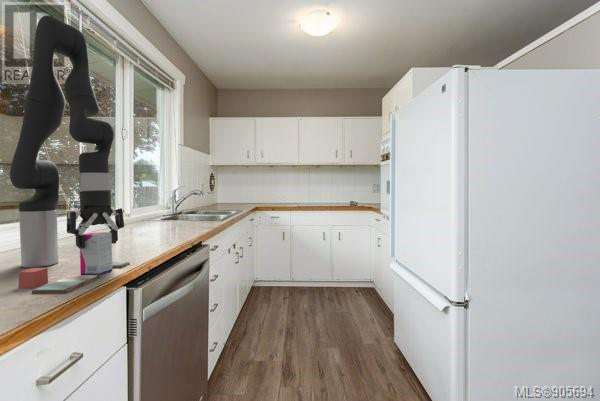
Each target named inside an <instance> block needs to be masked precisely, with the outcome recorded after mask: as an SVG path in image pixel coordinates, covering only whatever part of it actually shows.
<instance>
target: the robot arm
mask: <svg viewBox="0 0 600 401" xmlns="http://www.w3.org/2000/svg"><path fill="white" fill-rule="evenodd" d="M55 54H57V55H60V56H61V57H65V58H67V59H68V60H69V61H70V63H71V66H72V69H71V70H70V72H69V74H68V75H67V77H66V79H65V82H64V92H63V89H62V87H61V85H60V83H59V80H58V78H57V74H56V71H55V68H54V57H55V56H54V55H55ZM89 61H90V60H89V53H88V46H87V41H86V38H85V35H84V33H82V31H81V30H80V29H77V28H76V27H75V26H72V25H70V24H68V23H65V22H64V21H62V20H59V19H57V18H55V17H53V16H51V15H43V16H41V18H40V19H39V21H38V22H37V25H36V28H35V34H34V46H33V57H32V68H31V75H30V81H29V86H28V91H27V95H26V98H25V103H24V104H25V105H24V109H23V110H24V111H23V116H22V117H23V118H22V125H21V129H20V134H19V137H18V142H17V145H16V149H15V152H14V154H13V158H12V161H11V164H10V169H9V179H10V183H11V184H12V186H14V188H16V189H19V190H20V189H21V190H35V192H34V194H33V195H32V196H31V197H29V198H27V199H24V200H22V201H20V202H19V204H18V215H19V216H18V217H19V238H20V239H19V240H20V262H21V263H20V266H21V268H42V267H46V266H51V265H56V264H58V263H59V240H58V238H59V234H58V214H57V213H58V210H57V207H58V202H59V198H60V197H59V196H60V195H59V194H60V173H59V169H58V166H57V165H56V163H54V162H53V161H51V160H46V159H45V160H42V159H38V156H39V152H40V150H41V147H42V146H43V145H44V143H45V142H46V141H47V140H48V139H49V138H50V137H51V136H52V135H53V134H54V133H55V132H56V131H57V130H58V129H59V128H60V126H61V125H62V123H63V120H64V115H65V110H66V103H67V102H68V106H69V126H68V127H69V128H68V131H69V135H70V137H71V138H72V139H73V140H74V141H75V142H78V143H83V144H92V145H95V147H94V149H93V150H92V151H84V152H81V153H80V154H79V155H78V167H79V168H78V170H79V171H78V172H79V177H78V189H79V194H78V195H79V207H80V210H79V211H74V210H73V211H72V210H71V211H70V210H69V211H67V212H66V233H67V234H70V235H71V234H72V235H74V236H75V246H76V247H77V248H78V249H79V250H80V249H84V248H85V239H84V235H83V234H85V232H86V231H87V230H88V229H89V228H90V226H97V225H105V226H106V227H107V228H108V229H109V232H111V236H112V245H114V244H117V242H118V240H119V234H118V230H120V229H122V228H123V229H124V227H125V220H124V212H123V211H124V210H123V208H122V207H118V208H117V207H115V208H113V209H112V192H111V188H112V187H111V179H110V174H109V173H110V171H109V157H110V153H111V148H112V145H113V141H114V136H115V132H114V128H113V126H112V124H111V123H110V122H108V121H107V120H103V119H96V118H93V117H95V116H96V115H97V114H98V113H99V111H100V107H99V104H98V100H97V96H96V92H95V91H94V88H93V83H92V79H91V70H90V62H89ZM64 93H65V94H64ZM65 96H66V98H65ZM66 99H67V102H66ZM91 117H92V118H91ZM112 215H113V216H114V220H113V219H112V218H111V216H112ZM79 217H80V218H81V219H82V220H81V221H80V222H79V223H78V225H77V220H78V219H79Z"/></svg>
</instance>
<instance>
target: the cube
mask: <svg viewBox="0 0 600 401" xmlns="http://www.w3.org/2000/svg"><path fill="white" fill-rule="evenodd" d="M48 272H49V271H48V267H29V268H26V269H23V270H21V271H18V272H17V273H18V274H17V275H18V289H23V288H24V289H29V288H30V289H33V288H34V289H37V288H39V287H42V286H45V285H47V284H49V277H48V275H49V274H48Z"/></svg>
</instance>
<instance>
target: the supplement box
mask: <svg viewBox="0 0 600 401" xmlns="http://www.w3.org/2000/svg"><path fill="white" fill-rule="evenodd" d="M83 235H84V239H85V248H84V249H79V259H80V260H79V263H80V264H79V265H80V266H79V267H80V275H97V276H102V275H104V274H106V273H109V272H112V271H113V268H112V262H113V246H112V245H113V244H112V236H111V232H110V231H108V232H102V231H101V232H95V231H94V232H90V233H89V232H88V233H83Z"/></svg>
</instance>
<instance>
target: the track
mask: <svg viewBox="0 0 600 401" xmlns="http://www.w3.org/2000/svg"><path fill="white" fill-rule="evenodd" d="M128 265H131V262H130V261H112V269H123V268H124V267H126V266H128ZM100 277H101V275H99V276H97V275H81V274H80V275H79V274H78V275H77V274H71V275H68V276H66V277H64V278H60V279H58V280H56V281H54V282H51V283H47V284H44V285H42V286H39V287H37V288H34V289H33V290H31V294H68V293H70V292H72V291H74V290H76V289H80V287H83V286H85V285H87V284H90V283H92V282H93V281H96V280H98V279H100Z"/></svg>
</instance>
